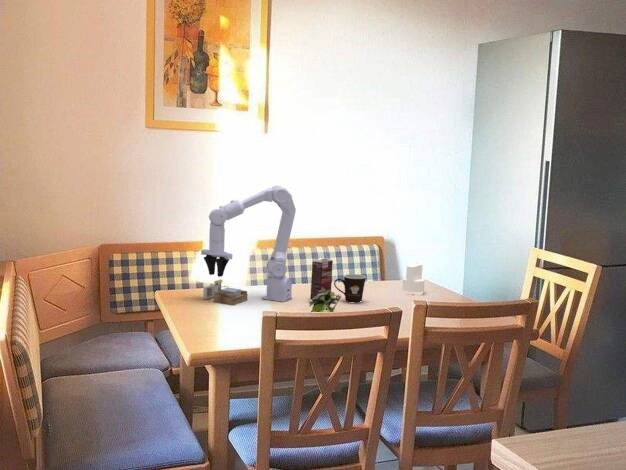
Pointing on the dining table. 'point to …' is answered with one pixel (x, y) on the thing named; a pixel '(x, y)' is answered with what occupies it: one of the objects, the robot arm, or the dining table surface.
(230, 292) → the lid
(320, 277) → the supplement box
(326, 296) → the green leafy plant
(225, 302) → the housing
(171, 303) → the dining table surface
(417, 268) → the base with upright slab
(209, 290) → the key
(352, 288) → the coffee mug
